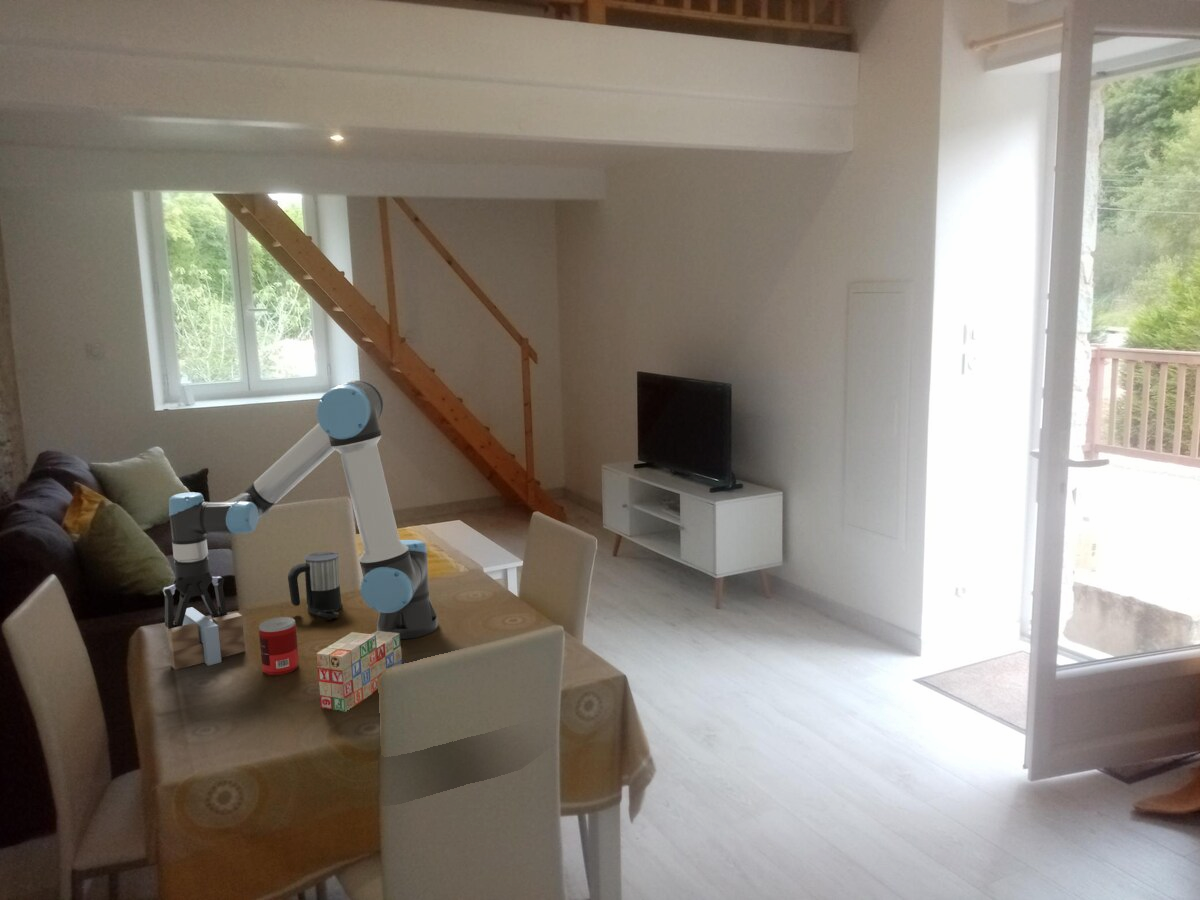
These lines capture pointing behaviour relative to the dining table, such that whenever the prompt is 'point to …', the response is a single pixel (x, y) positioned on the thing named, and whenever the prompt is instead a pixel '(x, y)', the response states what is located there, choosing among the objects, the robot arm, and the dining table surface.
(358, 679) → the stack of blocks
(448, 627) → the dining table surface
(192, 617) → the pale blue flat block
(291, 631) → the canned food
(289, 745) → the dining table surface
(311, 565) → the milk frother
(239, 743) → the dining table surface
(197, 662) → the light brown wooden block
